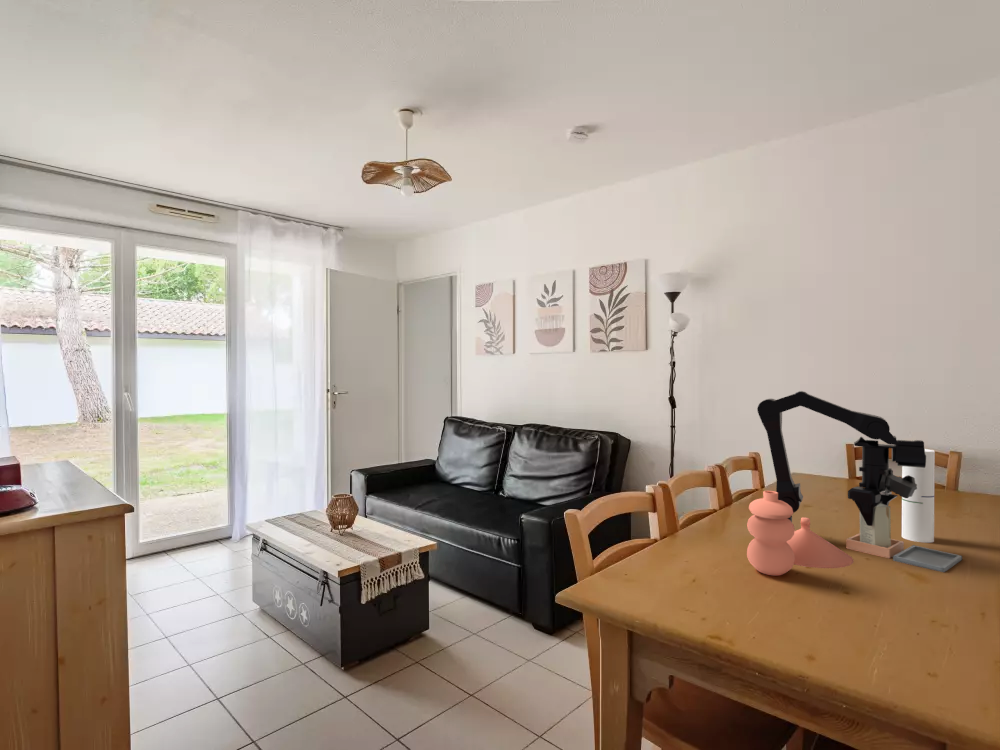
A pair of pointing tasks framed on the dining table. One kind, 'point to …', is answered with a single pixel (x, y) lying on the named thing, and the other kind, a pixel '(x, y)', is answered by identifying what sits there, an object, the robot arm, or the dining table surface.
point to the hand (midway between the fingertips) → (875, 523)
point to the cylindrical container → (920, 502)
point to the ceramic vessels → (786, 540)
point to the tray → (927, 558)
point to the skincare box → (877, 528)
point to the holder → (874, 547)
